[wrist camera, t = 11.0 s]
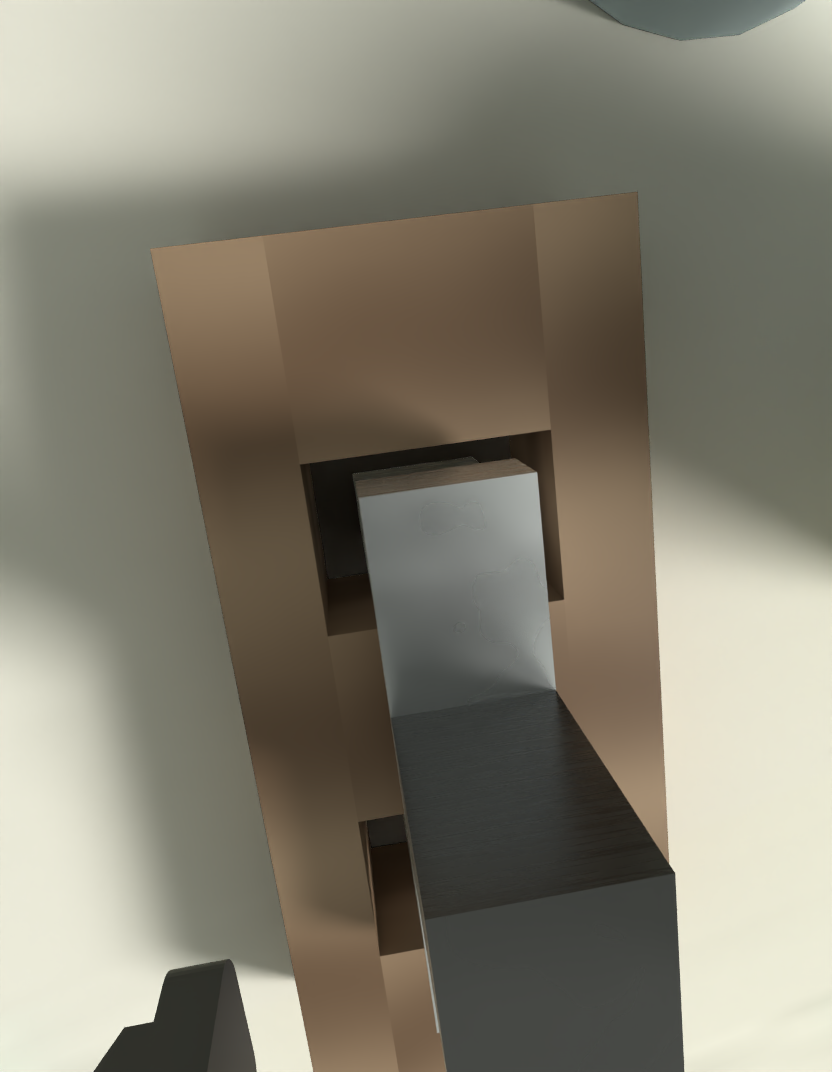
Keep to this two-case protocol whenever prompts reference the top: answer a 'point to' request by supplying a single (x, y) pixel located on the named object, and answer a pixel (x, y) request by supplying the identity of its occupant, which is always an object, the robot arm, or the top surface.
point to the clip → (510, 792)
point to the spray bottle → (695, 15)
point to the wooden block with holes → (346, 602)
